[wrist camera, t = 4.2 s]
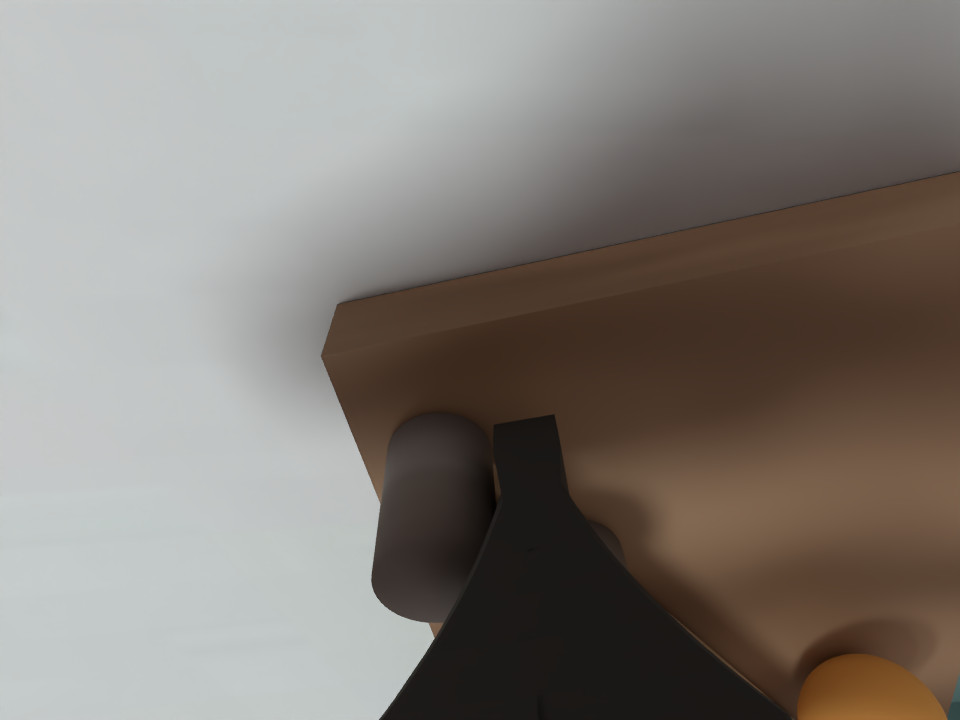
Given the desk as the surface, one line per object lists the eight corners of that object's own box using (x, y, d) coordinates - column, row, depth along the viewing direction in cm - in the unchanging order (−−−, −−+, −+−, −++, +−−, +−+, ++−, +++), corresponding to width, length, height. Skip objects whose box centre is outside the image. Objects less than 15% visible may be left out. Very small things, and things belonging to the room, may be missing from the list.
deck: (895, 701, 22) (933, 765, 20) (506, 760, 23) (510, 826, 21) (1007, 161, 12) (1094, 195, 11) (337, 304, 13) (320, 356, 12)
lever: (824, 719, 18) (885, 845, 16) (747, 754, 19) (793, 878, 16) (449, 387, 12) (450, 506, 9) (357, 458, 13) (335, 586, 10)
